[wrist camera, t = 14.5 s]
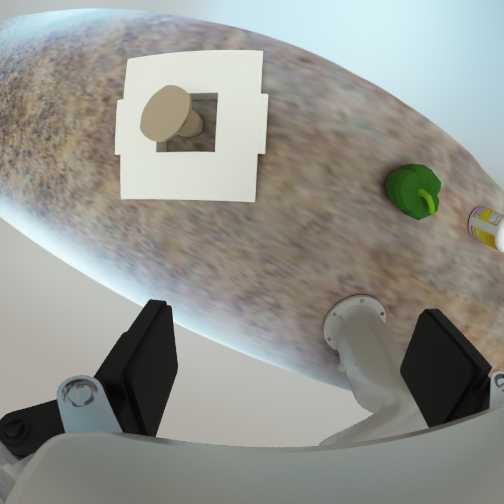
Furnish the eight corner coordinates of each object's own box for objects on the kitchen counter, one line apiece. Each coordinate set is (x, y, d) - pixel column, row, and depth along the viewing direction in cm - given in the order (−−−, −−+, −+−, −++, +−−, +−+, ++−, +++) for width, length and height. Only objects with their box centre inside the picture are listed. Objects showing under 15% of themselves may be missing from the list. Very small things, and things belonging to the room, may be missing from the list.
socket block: (261, 197, 44) (262, 202, 39) (128, 194, 44) (115, 199, 39) (269, 62, 37) (270, 51, 32) (134, 68, 37) (122, 60, 32)
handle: (171, 136, 41) (131, 129, 27) (193, 102, 39) (163, 78, 25) (196, 151, 42) (166, 149, 28) (218, 116, 40) (199, 97, 26)
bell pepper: (380, 159, 41) (409, 161, 32) (420, 165, 41) (454, 170, 32) (376, 209, 44) (403, 223, 35) (416, 213, 44) (447, 227, 35)
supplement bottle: (482, 241, 45) (521, 262, 33) (463, 234, 45) (504, 255, 33) (490, 211, 43) (532, 227, 31) (472, 202, 43) (515, 217, 31)
